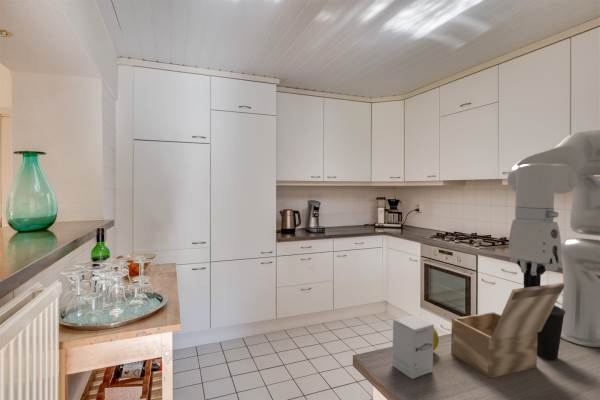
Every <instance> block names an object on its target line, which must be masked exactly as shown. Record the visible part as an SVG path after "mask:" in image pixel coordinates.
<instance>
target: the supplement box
mask: <svg viewBox="0 0 600 400" xmlns="http://www.w3.org/2000/svg"><path fill="white" fill-rule="evenodd" d="M434 325H435V324H434V323H432V322H430V321H427V320H425V319H423V318H420V317H418V316H416V315H408V316H404V317H400V318H396V319H395V318H394V319H393V320H392V359H391V360H392V367H394V368H395V369H397V370H398V371H400V372H401V373H402V374H404V375H405V376H407V377H409V378H410V379H412V380H414V379H417V378H419V377H422V376H424V375H427V374H430V373H432V372H433V370H434V369H433V368H434V367H433V365H434V350H433V334H434V329H435V326H434Z"/></svg>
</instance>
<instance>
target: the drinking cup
mask: <svg viewBox="0 0 600 400" xmlns="http://www.w3.org/2000/svg"><path fill="white" fill-rule="evenodd" d="M565 313H566V312H565V310H563V309H562V307H559V306H557V305H554V307H553V309H552V311H551V313H550V315H549V316H548V318H547V320H546V322H545V324H544V326H543V328H542V330H541V332H538V336H537V357H539V358H540V359H544V360H548V361H557V360H558V358H559V350H560V343H561V339H562V338H561V332H562V325H563V318H564V315H565Z"/></svg>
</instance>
